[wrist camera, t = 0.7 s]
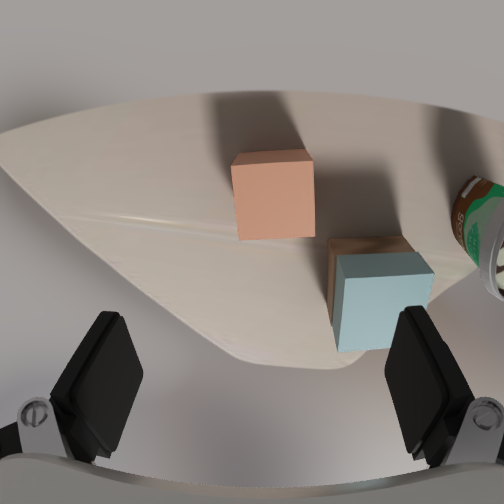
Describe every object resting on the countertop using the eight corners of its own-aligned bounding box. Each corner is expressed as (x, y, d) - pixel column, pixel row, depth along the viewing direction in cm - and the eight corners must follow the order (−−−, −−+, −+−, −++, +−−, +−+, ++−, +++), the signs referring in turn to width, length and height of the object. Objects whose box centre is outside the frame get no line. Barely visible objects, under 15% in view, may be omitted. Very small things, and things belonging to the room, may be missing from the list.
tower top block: (418, 251, 27) (434, 273, 24) (404, 319, 31) (416, 344, 27) (337, 255, 28) (345, 278, 25) (332, 325, 32) (337, 352, 28)
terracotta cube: (305, 148, 28) (313, 160, 22) (308, 210, 30) (315, 236, 25) (239, 152, 28) (230, 165, 23) (245, 214, 31) (239, 240, 26)
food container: (426, 190, 28) (478, 230, 19) (470, 163, 26) (529, 193, 18) (457, 278, 33) (497, 330, 24) (495, 252, 31) (540, 298, 22)
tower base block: (401, 234, 31) (415, 251, 27) (393, 298, 34) (403, 319, 31) (327, 238, 32) (334, 256, 28) (326, 303, 35) (331, 326, 32)
